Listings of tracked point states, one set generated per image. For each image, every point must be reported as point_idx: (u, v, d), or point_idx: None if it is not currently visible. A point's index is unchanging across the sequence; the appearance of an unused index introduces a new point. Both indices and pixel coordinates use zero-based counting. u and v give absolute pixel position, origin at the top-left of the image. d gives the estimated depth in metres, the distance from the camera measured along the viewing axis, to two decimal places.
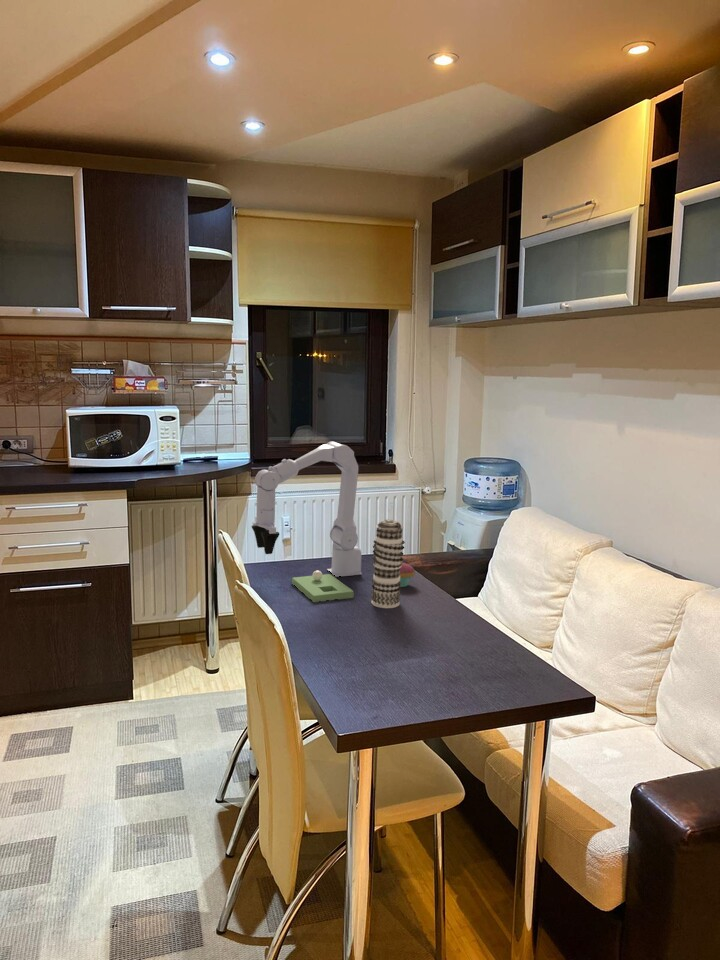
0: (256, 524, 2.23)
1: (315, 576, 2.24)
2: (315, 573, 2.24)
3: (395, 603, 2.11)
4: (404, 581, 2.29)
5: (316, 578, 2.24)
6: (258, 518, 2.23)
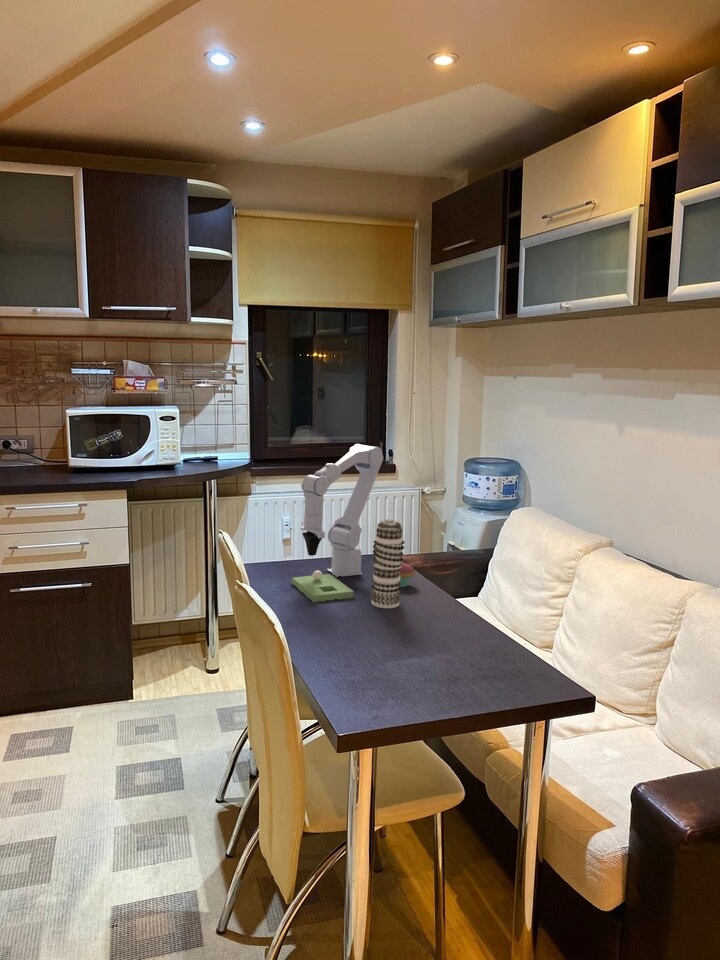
0: (304, 529, 2.25)
1: (315, 576, 2.24)
2: (315, 573, 2.24)
3: (395, 603, 2.11)
4: (404, 581, 2.29)
5: (316, 578, 2.24)
6: (306, 523, 2.25)
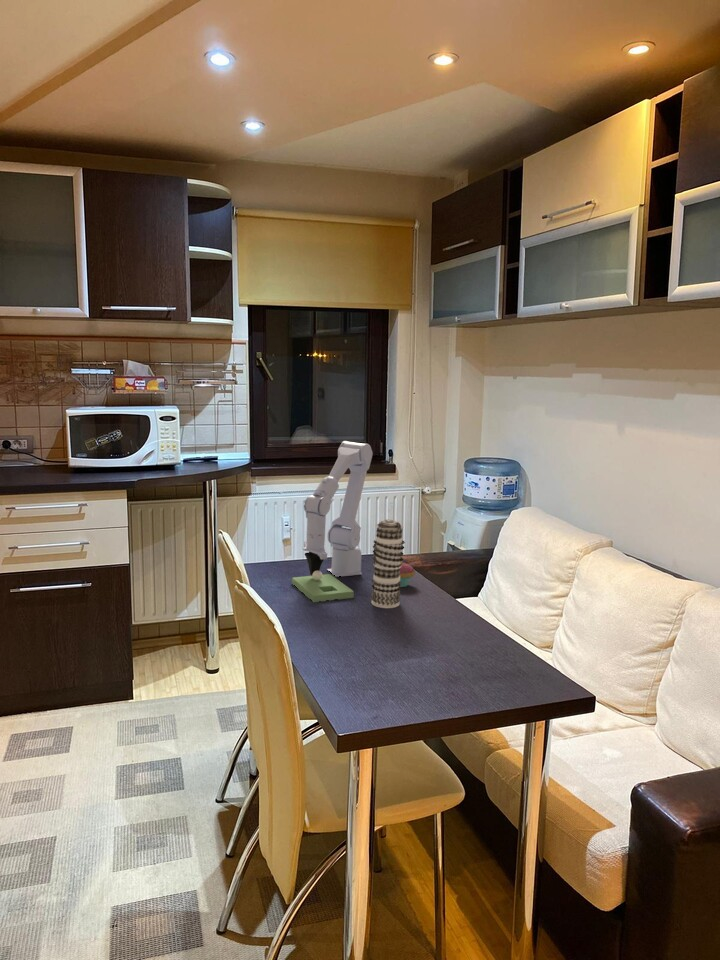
0: (306, 549, 2.24)
1: (315, 576, 2.24)
2: (315, 573, 2.24)
3: (395, 603, 2.11)
4: (404, 581, 2.29)
5: (316, 578, 2.24)
6: (308, 543, 2.24)
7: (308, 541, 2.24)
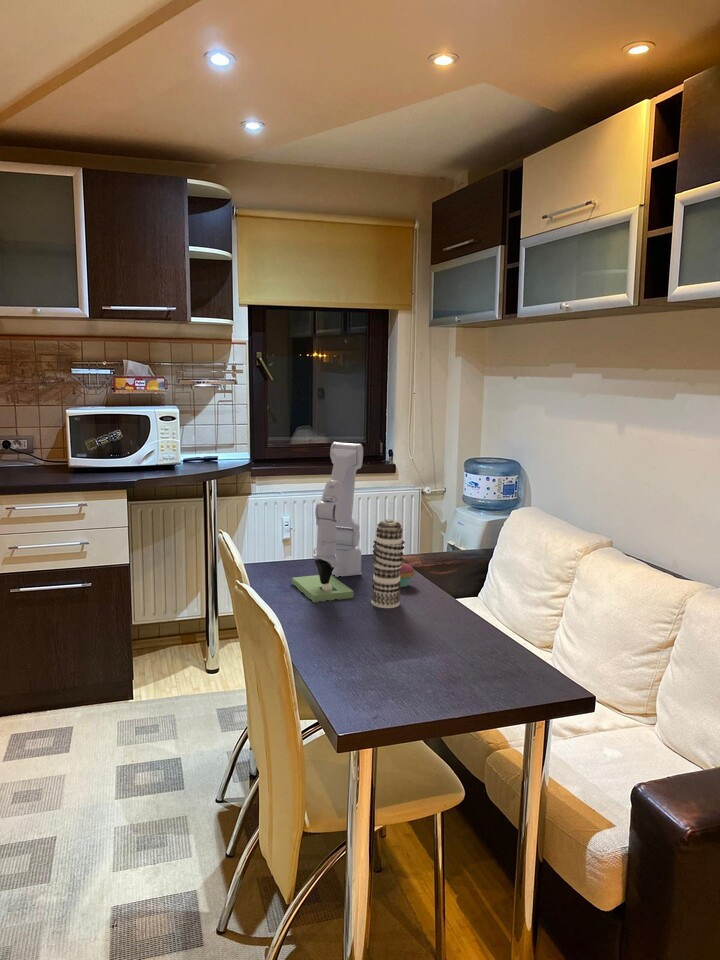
0: (317, 557, 2.16)
1: (325, 587, 2.17)
2: (324, 585, 2.18)
3: (395, 603, 2.11)
4: (404, 581, 2.29)
5: (326, 589, 2.17)
6: (319, 550, 2.16)
7: (318, 548, 2.17)
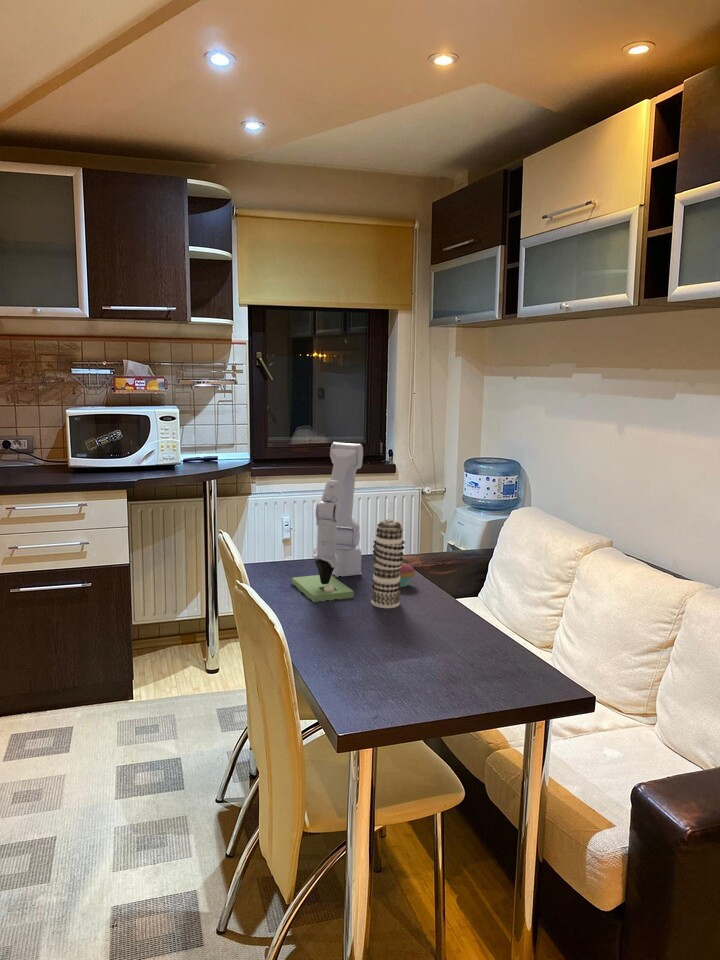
0: (317, 557, 2.16)
1: (327, 591, 2.16)
2: (327, 588, 2.16)
3: (395, 603, 2.11)
4: (403, 581, 2.29)
5: None
6: (319, 551, 2.16)
7: (319, 548, 2.16)
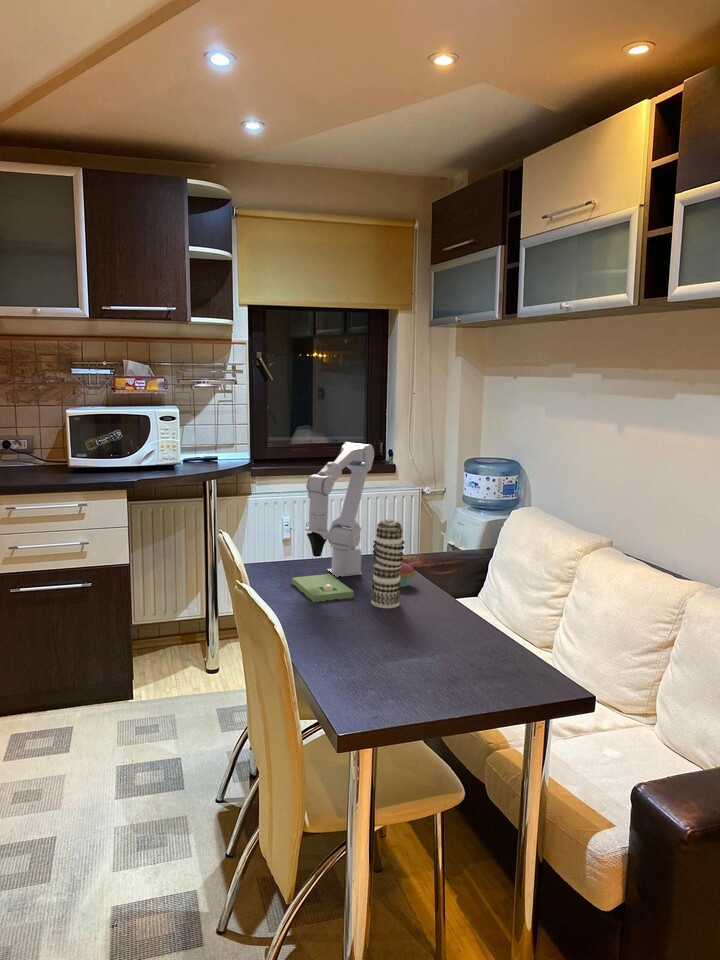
0: (309, 529, 2.21)
1: (326, 590, 2.17)
2: (326, 587, 2.17)
3: (395, 603, 2.11)
4: (404, 581, 2.29)
5: None
6: (311, 523, 2.21)
7: (311, 521, 2.21)
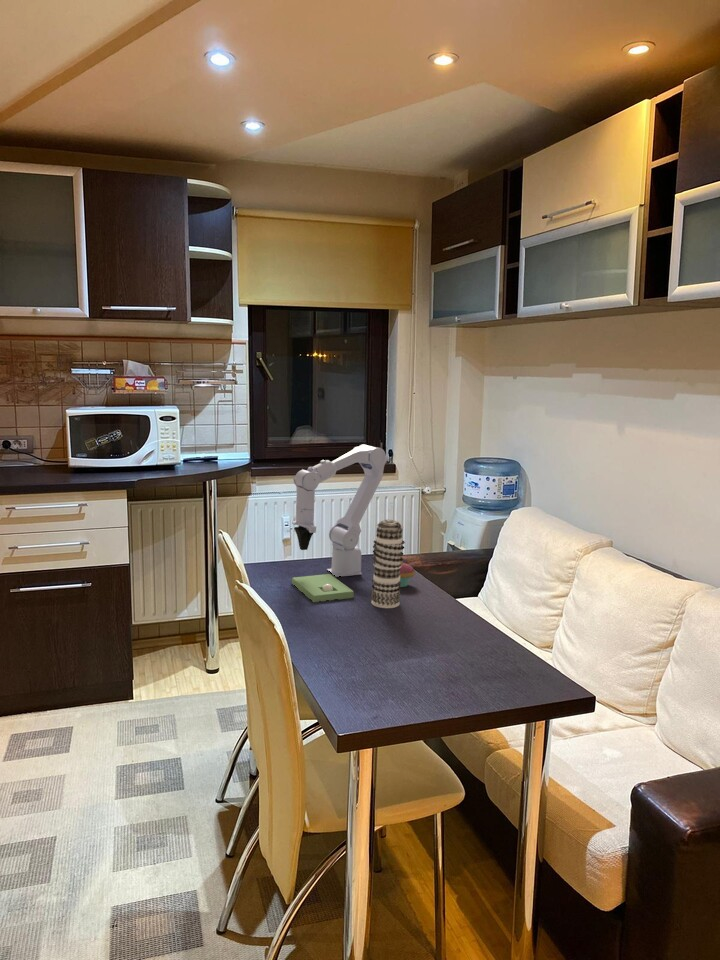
0: (296, 523, 2.27)
1: (325, 588, 2.17)
2: (325, 586, 2.18)
3: (395, 603, 2.11)
4: (404, 581, 2.29)
5: (327, 590, 2.17)
6: (298, 517, 2.27)
7: (297, 515, 2.27)
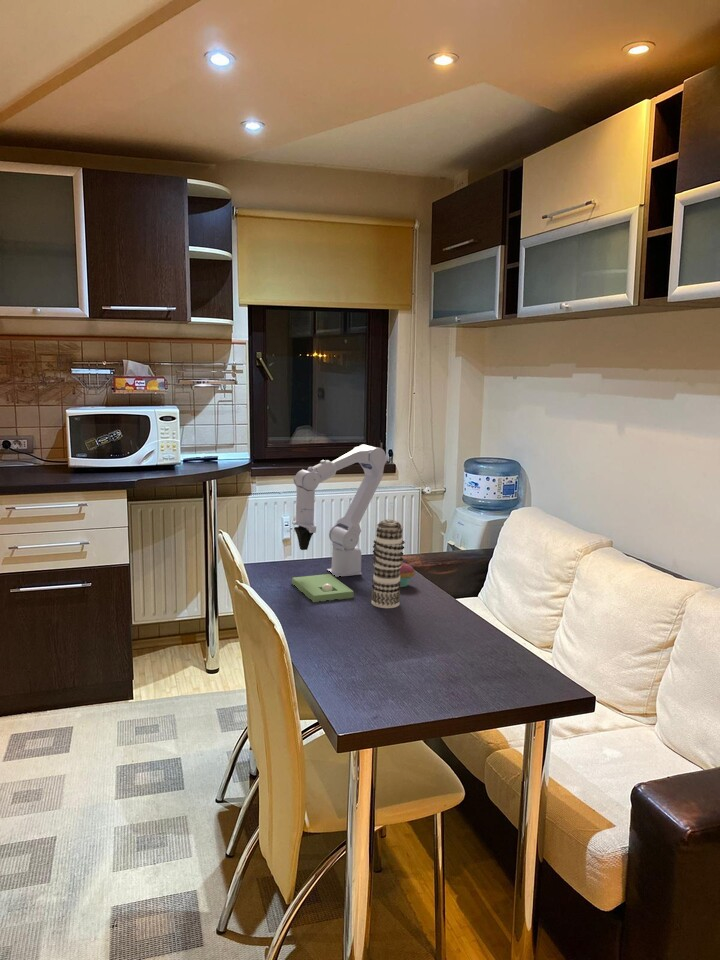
0: (296, 523, 2.27)
1: (325, 587, 2.17)
2: (324, 585, 2.18)
3: (395, 603, 2.11)
4: (404, 581, 2.29)
5: (326, 589, 2.17)
6: (298, 517, 2.27)
7: (297, 515, 2.27)
